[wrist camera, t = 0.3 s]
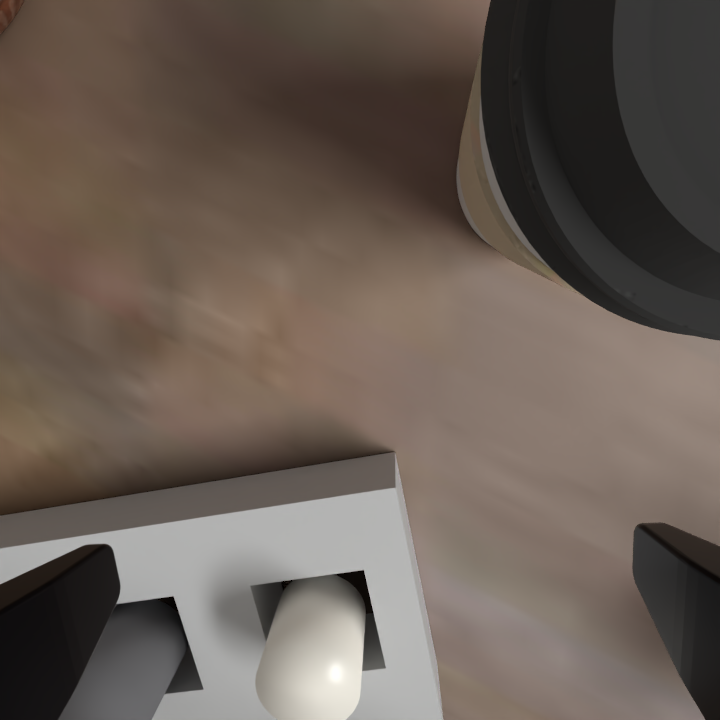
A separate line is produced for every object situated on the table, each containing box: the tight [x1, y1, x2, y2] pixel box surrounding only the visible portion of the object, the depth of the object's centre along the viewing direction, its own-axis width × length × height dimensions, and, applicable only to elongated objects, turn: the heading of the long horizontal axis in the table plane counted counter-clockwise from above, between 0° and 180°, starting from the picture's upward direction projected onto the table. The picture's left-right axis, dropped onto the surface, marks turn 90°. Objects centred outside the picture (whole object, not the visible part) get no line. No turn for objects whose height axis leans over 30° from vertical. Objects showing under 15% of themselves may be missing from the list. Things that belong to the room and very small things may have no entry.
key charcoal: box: [58, 599, 189, 720], centre depth 22 cm, size 4×4×4 cm
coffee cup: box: [456, 0, 720, 340], centre depth 13 cm, size 9×9×15 cm
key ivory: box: [255, 574, 366, 720], centre depth 21 cm, size 4×4×4 cm
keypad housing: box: [0, 452, 443, 720], centre depth 24 cm, size 12×26×4 cm, turn 101°
